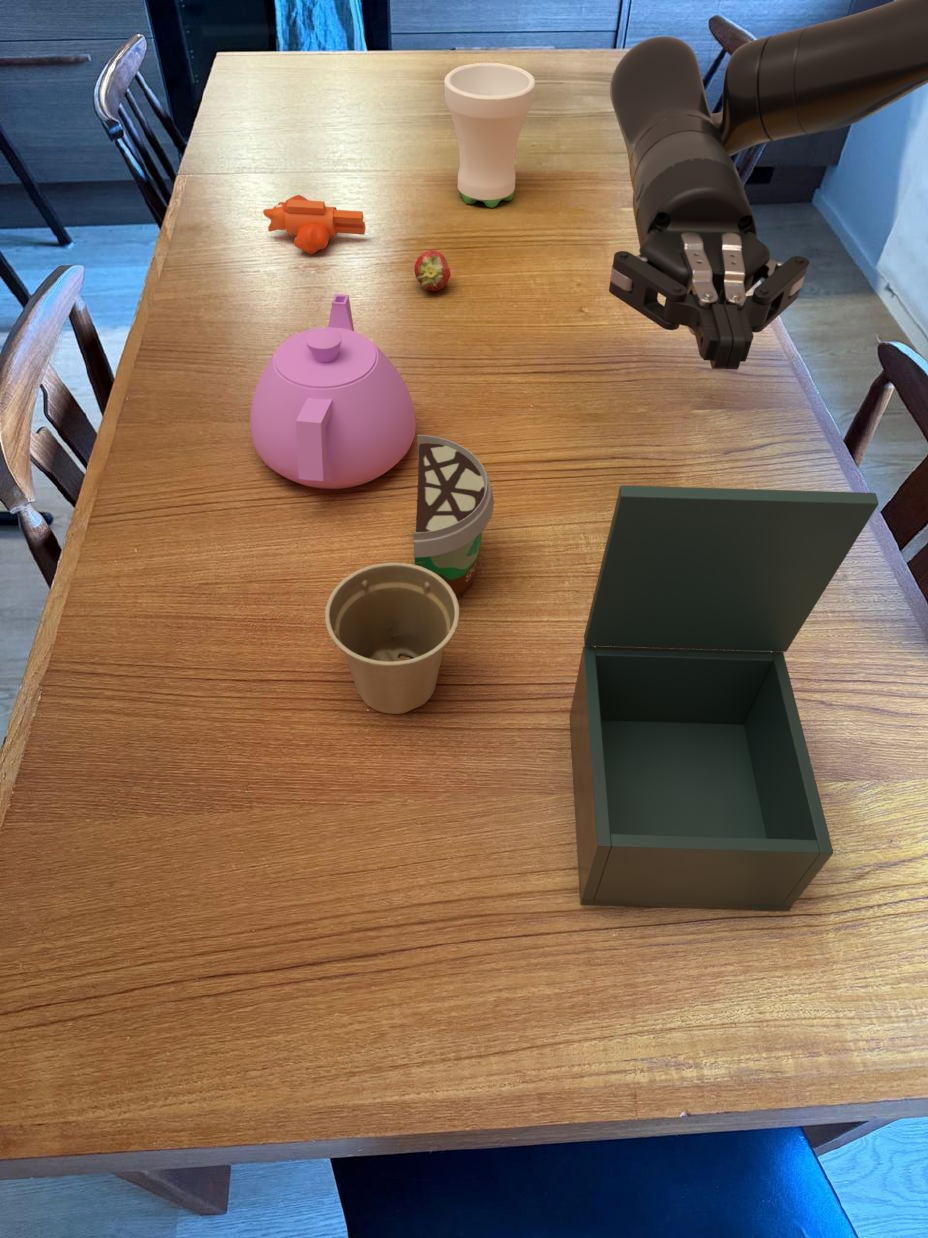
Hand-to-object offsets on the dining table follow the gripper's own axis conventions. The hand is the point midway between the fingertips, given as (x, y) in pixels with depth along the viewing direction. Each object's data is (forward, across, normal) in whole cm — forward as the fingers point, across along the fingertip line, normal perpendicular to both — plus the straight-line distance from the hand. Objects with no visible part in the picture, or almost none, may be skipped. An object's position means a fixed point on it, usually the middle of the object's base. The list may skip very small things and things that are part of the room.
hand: (728, 356), depth 52 cm
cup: (-75, +14, -27) cm, 81 cm away
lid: (+9, 0, -10) cm, 13 cm away
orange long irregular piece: (-61, +35, -27) cm, 75 cm away
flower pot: (+5, +20, -27) cm, 34 cm away
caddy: (+15, 0, -26) cm, 31 cm away
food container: (-7, +16, -27) cm, 32 cm away
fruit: (-52, +20, -27) cm, 62 cm away
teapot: (-23, +28, -27) cm, 45 cm away
